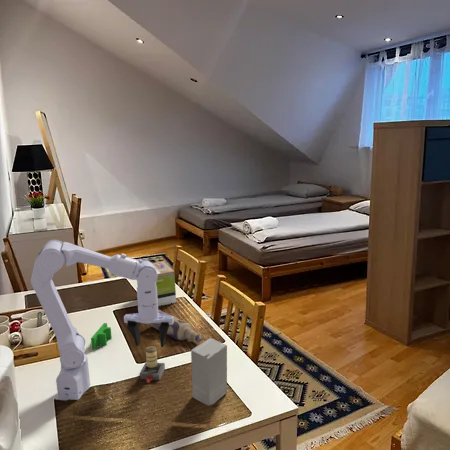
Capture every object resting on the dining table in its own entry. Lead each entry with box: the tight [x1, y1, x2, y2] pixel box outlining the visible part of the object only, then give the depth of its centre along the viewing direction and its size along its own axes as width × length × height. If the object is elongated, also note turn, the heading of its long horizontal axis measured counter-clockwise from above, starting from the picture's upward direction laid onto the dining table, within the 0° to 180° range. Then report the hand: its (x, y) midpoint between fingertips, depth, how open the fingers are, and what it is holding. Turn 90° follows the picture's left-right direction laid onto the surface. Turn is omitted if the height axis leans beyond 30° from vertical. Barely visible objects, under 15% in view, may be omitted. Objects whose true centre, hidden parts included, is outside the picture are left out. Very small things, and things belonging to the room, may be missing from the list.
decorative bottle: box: [147, 309, 203, 343], centre depth 151 cm, size 26×8×7 cm, turn 47°
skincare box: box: [190, 337, 228, 407], centre depth 115 cm, size 8×7×16 cm
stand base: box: [139, 362, 166, 384], centre depth 127 cm, size 10×10×3 cm
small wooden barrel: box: [145, 345, 158, 368], centre depth 126 cm, size 3×3×5 cm
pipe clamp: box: [90, 322, 112, 351], centre depth 148 cm, size 11×4×5 cm, turn 173°
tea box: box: [151, 260, 177, 307], centre depth 182 cm, size 15×10×15 cm, turn 25°
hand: (150, 344), depth 125 cm, fingers open, 7 cm apart
